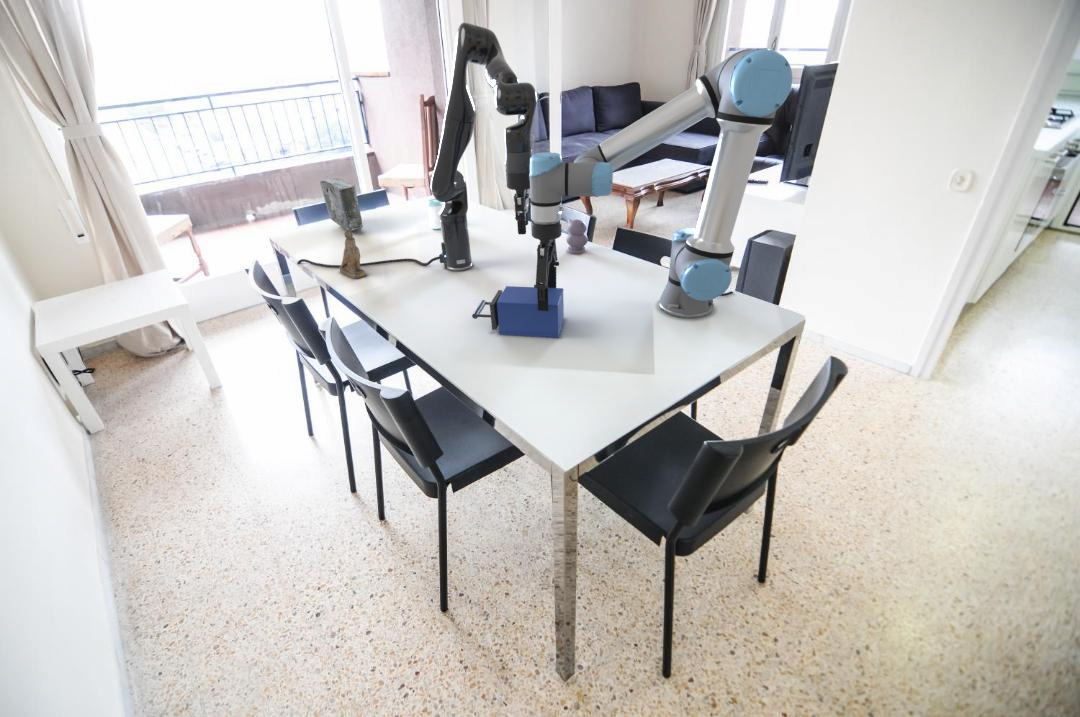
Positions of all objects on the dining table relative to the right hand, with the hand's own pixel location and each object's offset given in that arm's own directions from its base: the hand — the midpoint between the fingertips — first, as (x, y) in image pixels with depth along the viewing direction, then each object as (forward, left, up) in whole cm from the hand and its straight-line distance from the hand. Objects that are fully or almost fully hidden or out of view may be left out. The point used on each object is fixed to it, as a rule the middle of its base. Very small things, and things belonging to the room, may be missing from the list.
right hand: (547, 299), depth 134 cm
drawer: (+9, -4, -8) cm, 13 cm away
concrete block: (+67, -119, -9) cm, 137 cm away
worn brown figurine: (+59, -59, -9) cm, 84 cm away
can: (+27, -106, -9) cm, 110 cm away
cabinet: (+4, -2, -9) cm, 10 cm away
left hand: (+3, -17, +14) cm, 22 cm away
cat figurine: (-24, -58, -9) cm, 63 cm away
